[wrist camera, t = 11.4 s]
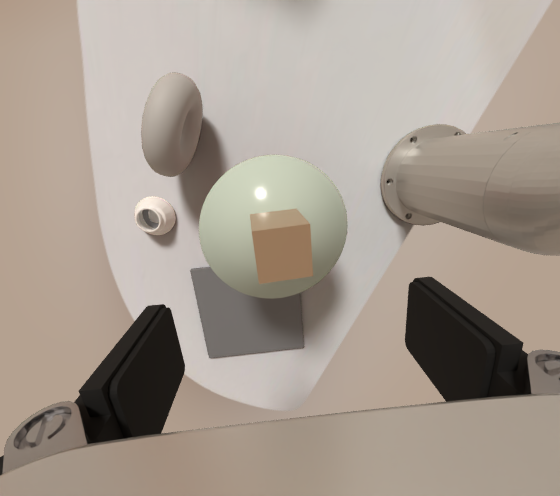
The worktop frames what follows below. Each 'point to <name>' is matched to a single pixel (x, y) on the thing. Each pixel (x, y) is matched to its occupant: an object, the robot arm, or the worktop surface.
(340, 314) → the worktop surface
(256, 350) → the mat
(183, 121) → the donut
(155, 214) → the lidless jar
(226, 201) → the lid
